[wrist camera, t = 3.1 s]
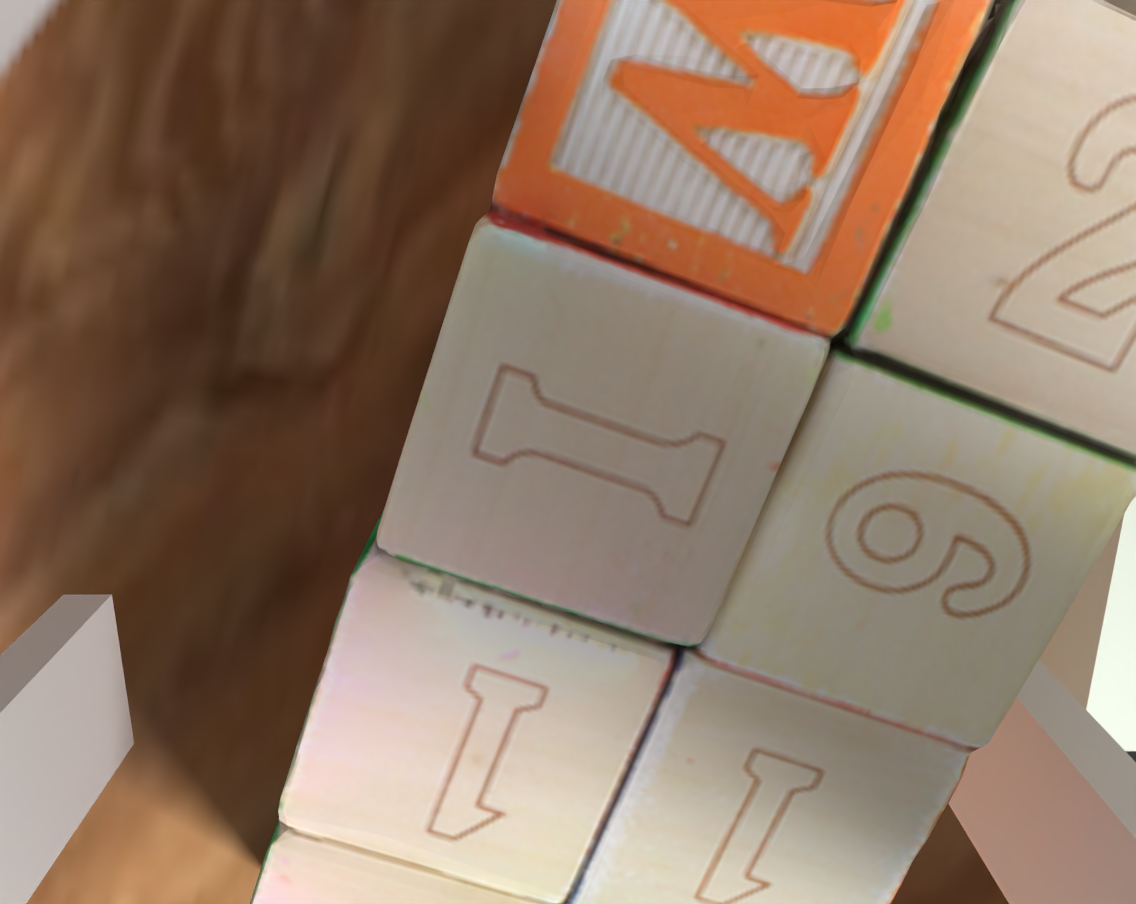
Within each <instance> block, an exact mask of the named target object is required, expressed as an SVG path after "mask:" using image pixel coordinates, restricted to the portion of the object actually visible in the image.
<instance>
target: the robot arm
mask: <svg viewBox="0 0 1136 904" xmlns="http://www.w3.org/2000/svg"><path fill="white" fill-rule="evenodd" d="M133 744H134V739H133V732H132V726H131V719H130V712H129V706H128V699H127V692H126V686H125V679H124V672H123V666H122V659H121V652H120V645H119V639H118V632H117V625H116V619H115V612H114V605H113V599H112V594H108V595H62V596H61V597H60V598H59V599H58V600H57V601H56V602H55V603H54V604H53V605H52V606H51V607H50V608H49V609H48V610H47V611H46V612H45V613H44V614H42V615H41V616H40V617H39V618H38V619H37V620H36V621H35V622H34V623H33V624H32V625H31V626H30V627H29V628H28V629H27V630H26V631H25V632H24V633H23V634H22V635H20V636H19V637H18V638H17V639H16V640H15V641H14V642H13V643H12V644H11V645H10V646H9V647H8V648H7V649H6V650H5V651H4V652H3V653H2V654H1V655H0V904H26V903H27V902H28V900H29V899H30V897H31V896H32V894H33V893H34V891H35V890H36V888H37V887H38V885H39V884H40V882H41V881H42V879H43V878H44V876H45V875H46V873H47V872H48V870H49V869H50V867H51V866H52V864H53V863H54V861H55V860H56V858H57V857H58V856H59V854H60V853H61V851H62V850H63V848H64V847H65V845H66V844H67V842H68V841H69V839H70V838H71V836H72V835H73V833H74V832H75V830H76V829H77V827H78V826H79V824H80V823H81V821H82V820H83V818H84V817H85V815H86V814H87V813H88V811H89V810H90V808H91V807H92V805H93V804H94V802H95V801H96V799H97V798H98V796H99V795H100V793H101V792H102V790H103V789H104V787H105V786H106V784H107V783H108V781H109V780H110V778H111V777H112V775H113V774H114V772H115V771H116V769H117V768H118V767H119V765H120V764H121V762H122V761H123V759H124V758H125V756H126V755H127V753H128V752H129V750H130V749H131V747H132V746H133ZM948 804H949V805H950V807H951V809H952V810H953V812H954V814H955V815H956V817H957V819H958V820H959V822H960V824H961V825H962V827H963V829H964V830H965V832H966V833H967V835H968V837H969V838H970V840H971V842H972V843H973V845H974V847H975V848H976V850H977V852H978V853H979V855H980V857H981V858H982V860H983V862H984V863H985V865H986V867H987V868H988V870H989V872H990V873H991V875H992V876H993V878H994V880H995V881H996V883H997V885H998V886H999V888H1000V890H1001V891H1002V893H1003V895H1004V896H1005V898H1006V900H1007V901H1008V903H1009V904H1136V751H1125V750H1124V749H1123V748H1122V747H1121V746H1120V745H1119V744H1118V743H1117V742H1116V741H1115V740H1114V739H1113V738H1112V737H1111V735H1110V734H1109V733H1108V732H1107V731H1106V730H1105V729H1104V728H1103V727H1102V726H1101V725H1100V724H1099V723H1098V722H1097V721H1096V720H1095V719H1094V717H1093V716H1092V715H1091V714H1090V713H1089V712H1088V711H1087V710H1086V709H1085V708H1084V707H1083V706H1082V705H1081V704H1080V703H1079V702H1078V701H1077V699H1076V698H1075V697H1074V696H1073V695H1072V694H1071V693H1070V692H1069V691H1068V690H1067V689H1066V688H1065V687H1064V686H1063V685H1062V684H1061V682H1060V681H1059V680H1058V679H1057V678H1056V677H1055V676H1054V675H1053V674H1052V673H1051V672H1050V671H1049V670H1048V669H1047V668H1046V667H1045V666H1044V664H1043V663H1042V662H1041V661H1040V660H1038V662H1037V663H1036V665H1035V667H1034V668H1033V670H1032V672H1031V673H1030V675H1029V677H1028V678H1027V680H1026V682H1025V684H1024V685H1023V687H1022V689H1021V691H1020V692H1019V694H1018V696H1017V698H1016V699H1015V701H1014V703H1013V704H1012V706H1011V708H1010V710H1009V711H1008V713H1007V714H1006V716H1005V718H1004V719H1003V721H1002V722H1001V724H1000V726H999V727H998V729H997V730H996V732H995V734H994V735H993V737H992V738H991V740H990V742H989V743H988V744H987V745H985V746H983V747H981V748H979V749H977V750H975V751H973V752H971V753H970V755H969V758H968V761H967V764H966V767H965V770H964V772H963V775H962V778H961V780H960V782H959V784H958V786H957V788H956V790H955V792H954V794H953V795H952V797H951V799H950V801H949V803H948Z"/></svg>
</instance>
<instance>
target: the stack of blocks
mask: <svg viewBox="0 0 1136 904" xmlns="http://www.w3.org/2000/svg"><path fill="white" fill-rule="evenodd" d="M1135 496H1136V16H1135V15H1133V14H1131V13H1129V12H1126V11H1124V10H1122V9H1120V8H1118V7H1116V6H1114V5H1112V4H1110V3H1108V2H1106V1H1104V0H557V2H556V5H555V8H554V11H553V14H552V17H551V19H550V22H549V25H548V28H547V31H546V34H545V37H544V40H543V43H542V45H541V48H540V51H539V54H538V57H537V60H536V63H535V66H534V69H533V72H532V74H531V77H530V80H529V83H528V86H527V89H526V92H525V95H524V98H523V100H522V103H521V106H520V109H519V112H518V115H517V118H516V121H515V124H514V126H513V129H512V132H511V135H510V138H509V141H508V144H507V147H506V150H505V152H504V155H503V158H502V161H501V164H500V167H499V170H498V173H497V177H496V182H495V187H494V192H493V197H492V202H491V207H490V210H489V211H488V212H487V213H486V214H485V215H484V216H483V217H482V218H481V219H480V220H479V221H478V222H477V223H476V225H475V227H474V230H473V233H472V235H471V238H470V240H469V243H468V246H467V249H466V252H465V256H464V259H463V262H462V265H461V268H460V271H459V274H458V277H457V280H456V283H455V287H454V290H453V293H452V296H451V299H450V302H449V306H448V309H447V312H446V315H445V318H444V321H443V325H442V328H441V331H440V334H439V337H438V340H437V344H436V347H435V350H434V353H433V356H432V359H431V363H430V366H429V369H428V372H427V375H426V378H425V381H424V385H423V388H422V391H421V394H420V397H419V400H418V403H417V406H416V410H415V413H414V416H413V419H412V422H411V425H410V428H409V432H408V435H407V438H406V441H405V444H404V447H403V451H402V454H401V457H400V460H399V463H398V467H397V470H396V473H395V476H394V479H393V483H392V486H391V489H390V492H389V495H388V499H387V502H386V505H385V508H384V510H383V512H382V514H381V516H380V518H379V520H378V521H377V523H376V525H375V527H374V529H373V531H372V533H371V535H370V536H369V538H368V540H367V542H366V545H365V547H364V549H363V551H362V553H361V555H360V557H359V559H358V561H357V564H356V566H355V568H354V570H353V572H352V574H351V576H350V579H349V583H348V586H347V590H346V593H345V596H344V599H343V602H342V605H341V607H340V610H339V613H338V616H337V618H336V621H335V625H334V629H333V632H332V636H331V640H330V644H329V647H328V651H327V655H326V658H325V661H324V664H323V667H322V670H321V672H320V675H319V678H318V681H317V684H316V687H315V690H314V693H313V696H312V699H311V703H310V706H309V709H308V712H307V715H306V718H305V721H304V725H303V728H302V731H301V734H300V737H299V740H298V744H297V747H296V750H295V753H294V756H293V760H292V763H291V766H290V769H289V772H288V776H287V779H286V782H285V785H284V788H283V792H282V795H281V798H280V804H279V809H278V813H279V820H278V823H277V826H276V828H275V831H274V834H273V836H272V839H271V841H270V844H269V847H268V849H267V852H266V855H265V858H264V861H263V864H262V867H261V870H260V874H259V877H258V880H257V883H256V886H255V889H254V893H253V896H252V899H251V902H250V904H891V902H892V901H893V899H894V897H895V895H896V893H897V892H898V890H899V888H900V886H901V884H902V882H903V880H904V878H905V876H906V874H907V872H908V870H909V868H910V865H911V863H912V861H913V860H914V858H915V857H916V855H917V854H918V853H919V851H920V850H921V848H922V847H923V845H924V844H925V842H926V841H927V839H928V838H929V836H930V834H931V832H932V831H933V829H934V827H935V826H936V824H937V822H938V821H939V819H940V817H941V816H942V814H943V812H944V811H945V809H946V807H947V805H948V803H949V801H950V799H951V797H952V795H953V794H954V792H955V790H956V788H957V786H958V784H959V782H960V780H961V778H962V775H963V772H964V770H965V767H966V764H967V761H968V758H969V755H970V753H971V752H973V751H975V750H977V749H979V748H981V747H983V746H985V745H987V744H988V743H989V742H990V740H991V738H992V737H993V735H994V734H995V732H996V730H997V729H998V727H999V726H1000V724H1001V722H1002V721H1003V719H1004V718H1005V716H1006V714H1007V713H1008V711H1009V710H1010V708H1011V706H1012V704H1013V703H1014V701H1015V699H1016V698H1017V696H1018V694H1019V692H1020V691H1021V689H1022V687H1023V685H1024V684H1025V682H1026V680H1027V678H1028V677H1029V675H1030V673H1031V672H1032V670H1033V668H1034V667H1035V665H1036V663H1037V662H1038V660H1039V658H1040V657H1041V655H1042V653H1043V652H1044V650H1045V648H1046V647H1047V645H1048V643H1049V642H1050V640H1051V638H1052V637H1053V635H1054V633H1055V632H1056V630H1057V629H1058V627H1059V625H1060V624H1061V622H1062V620H1063V619H1064V617H1065V615H1066V614H1067V612H1068V610H1069V609H1070V607H1071V605H1072V603H1073V602H1074V600H1075V598H1076V596H1077V595H1078V593H1079V591H1080V589H1081V588H1082V586H1083V584H1084V583H1085V581H1086V579H1087V577H1088V576H1089V574H1090V572H1091V570H1092V569H1093V567H1094V565H1095V563H1096V562H1097V560H1098V558H1099V556H1100V555H1101V553H1102V551H1103V549H1104V548H1105V546H1106V544H1107V543H1108V541H1109V539H1110V537H1111V536H1112V534H1113V532H1114V530H1115V529H1116V527H1117V525H1118V523H1119V522H1120V520H1121V518H1122V516H1123V515H1124V513H1125V511H1126V509H1127V508H1128V506H1129V504H1130V503H1131V501H1132V500H1133V499H1134V497H1135Z"/></svg>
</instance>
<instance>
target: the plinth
mask: <svg viewBox="0 0 1136 904" xmlns="http://www.w3.org/2000/svg"><path fill="white" fill-rule="evenodd" d="M1104 1H1106V2H1108V3H1110V4H1112V5H1114V6H1116V7H1118V8H1120V9H1122V10H1124V11H1126V12H1129V13H1131V14H1133V15H1135V16H1136V0H1104ZM1039 660H1040V661H1041V662H1042V663H1043V664H1044V666H1045V667H1046V668H1047V669H1048V670H1049V671H1050V672H1051V673H1052V674H1053V675H1054V676H1055V677H1056V678H1057V679H1058V680H1059V681H1060V682H1061V684H1062V685H1063V686H1064V687H1065V688H1066V689H1067V690H1068V691H1069V692H1070V693H1071V694H1072V695H1073V696H1074V697H1075V698H1076V699H1077V701H1078V702H1079V703H1080V704H1081V705H1082V706H1083V707H1084V708H1085V709H1086V710H1087V711H1088V712H1089V713H1090V714H1091V715H1092V716H1093V717H1094V719H1095V720H1096V721H1097V722H1098V723H1099V724H1100V725H1101V726H1102V727H1103V728H1104V729H1105V730H1106V731H1107V732H1108V733H1109V734H1110V735H1111V737H1112V738H1113V739H1114V740H1115V741H1116V742H1117V743H1118V744H1119V745H1120V746H1121V747H1122V748H1123V749H1124V750H1125V751H1136V496H1135V497H1134V499H1133V500H1132V501H1131V503H1130V504H1129V506H1128V508H1127V509H1126V511H1125V513H1124V515H1123V516H1122V518H1121V520H1120V522H1119V523H1118V525H1117V527H1116V529H1115V530H1114V532H1113V534H1112V536H1111V537H1110V539H1109V541H1108V543H1107V544H1106V546H1105V548H1104V549H1103V551H1102V553H1101V555H1100V556H1099V558H1098V560H1097V562H1096V563H1095V565H1094V567H1093V569H1092V570H1091V572H1090V574H1089V576H1088V577H1087V579H1086V581H1085V583H1084V584H1083V586H1082V588H1081V589H1080V591H1079V593H1078V595H1077V596H1076V598H1075V600H1074V602H1073V603H1072V605H1071V607H1070V609H1069V610H1068V612H1067V614H1066V615H1065V617H1064V619H1063V620H1062V622H1061V624H1060V625H1059V627H1058V629H1057V630H1056V632H1055V633H1054V635H1053V637H1052V638H1051V640H1050V642H1049V643H1048V645H1047V647H1046V648H1045V650H1044V652H1043V653H1042V655H1041V657H1040V658H1039Z"/></svg>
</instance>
